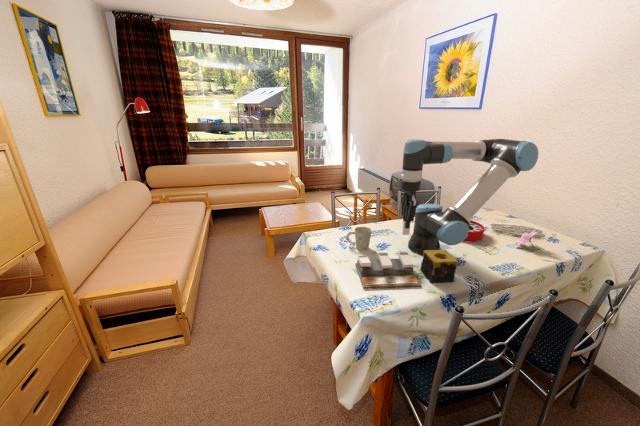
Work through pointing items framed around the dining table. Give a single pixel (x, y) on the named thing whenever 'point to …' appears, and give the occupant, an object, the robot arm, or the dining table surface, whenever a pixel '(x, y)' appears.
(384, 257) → the rocker middle
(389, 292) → the dining table surface
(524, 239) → the lily
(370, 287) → the switch board
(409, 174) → the robot arm
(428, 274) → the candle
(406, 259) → the block
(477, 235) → the toy clock
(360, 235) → the mug
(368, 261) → the block
